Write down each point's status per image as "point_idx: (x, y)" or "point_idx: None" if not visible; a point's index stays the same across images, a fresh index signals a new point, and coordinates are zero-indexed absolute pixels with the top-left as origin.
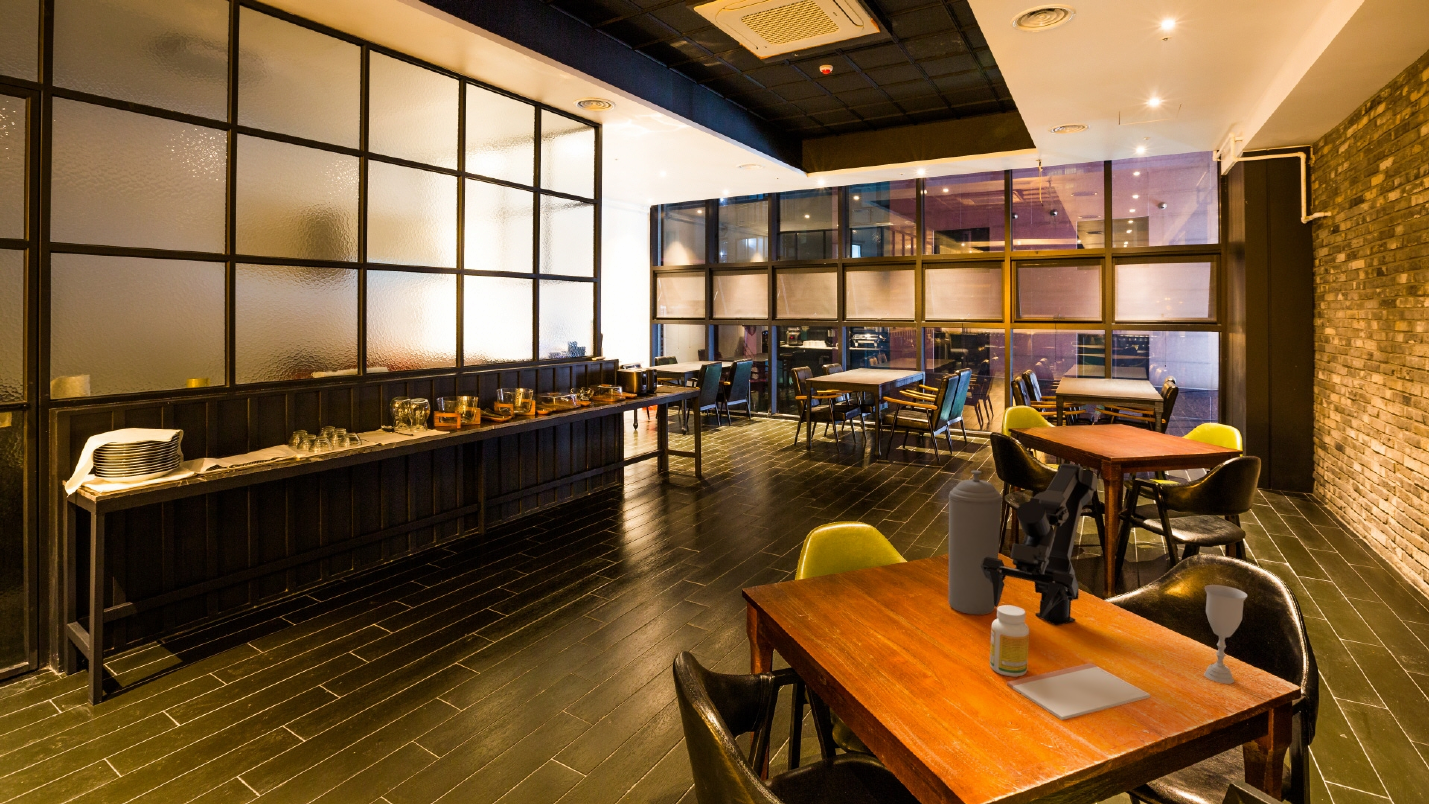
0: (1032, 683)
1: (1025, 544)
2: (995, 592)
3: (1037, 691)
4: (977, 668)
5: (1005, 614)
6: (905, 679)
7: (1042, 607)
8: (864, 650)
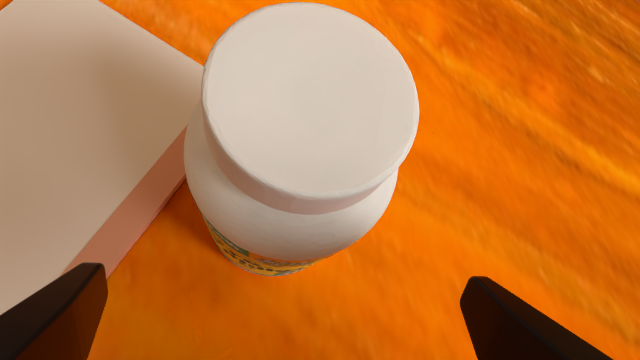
0: (169, 127)
1: None
2: (575, 346)
3: (144, 81)
4: None
5: (327, 7)
6: (473, 4)
7: (42, 311)
8: (626, 94)
